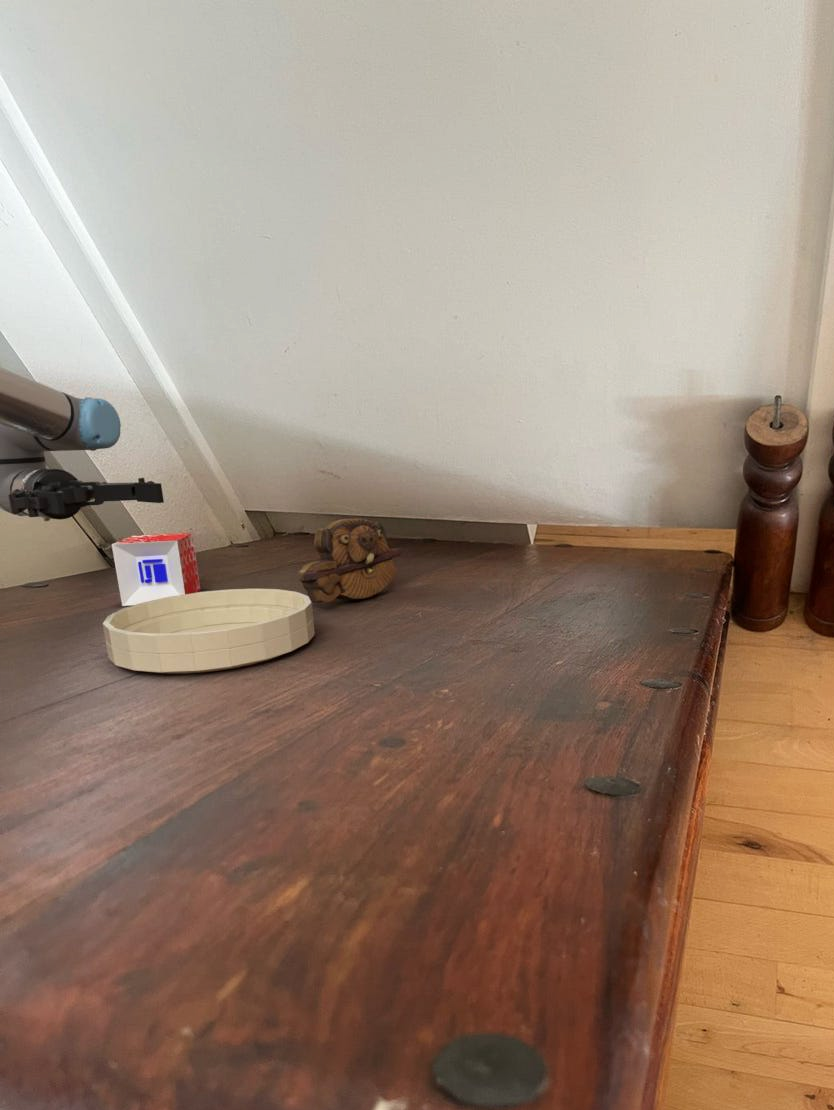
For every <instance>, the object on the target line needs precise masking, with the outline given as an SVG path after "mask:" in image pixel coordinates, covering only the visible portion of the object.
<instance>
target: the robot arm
mask: <svg viewBox="0 0 834 1110" xmlns="http://www.w3.org/2000/svg"><path fill="white" fill-rule="evenodd" d="M121 426H122V424H121V419H120V415H119V413H118V412H117V410H116V408H115V407H114V405H113V404H112V403H110V402H109V401H108V400H106V399H103V398H97V397H96V398H95V397H91V396H90V397H84V398H80V397H76V396H73V395H70V394H68V393H66V392H63V391H61V390H58V389H56V388H53V387H51V386H49V385H46V384H44V383H42V382H39V381H37V380H34V379H32V378H30V377H28V376H26V375H24V374H21V373H18V372H16V371H14V370H11V369H10V368H7V367H5V366H2V365H0V510H2V511H4V512H6V513H9V514H12V515H14V516H19V517H28V518H42V520H43V521H44V522H49V521H51V520H66V519H70V518H71V517H74V516H75V515H76V514H78V513H79V512H80V511H81V509H82V508H85V507H87V506H88V507H89V506H100V505H103V504H104V503H105V502H123V501H124V502H125V501H126V502H127V501H136V502H137V503H150V504H151V503H152V504H163V503H165V501H164V500H165V499H164V494H163V487H162V483H158V482H155V481H152V480H148V481H145V477H138V478H137V481H134V482H106V481H102V482H100V481H99V480H98V481H82V480H79V479H78V478H77V477H76V476H75V475H74V474H72V473H70V472H69V471H66V470H65V469H59V468H47V464H46V457H45V452H65V451H68V452H69V451H91V452H94V451H95V452H96V451H97V450H103V449H104V450H105V449H110V448H112V447H113V446H115V445H116V444H117V443H118V441H119V439H120V437H121Z"/></svg>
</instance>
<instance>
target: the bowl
mask: <svg viewBox="0 0 834 1110" xmlns="http://www.w3.org/2000/svg"><path fill="white" fill-rule="evenodd" d="M102 628H103V629H102V630H103V634H104V640H105V647H106V651H107V657H108V659H109V660H110V661H111V662H112V664H114V666H117V667H120V668H123V669H128V670H131V671H135V672H136V671H137V672H146V673H147V672H148V673H156V674H169V675H170V674H171V675H173V674H174V675H175V674H176V675H177V674H178V675H179V674H181V675H182V674H184V675H185V674H198V673H199V674H200V673H210V672H219V671H225V670H232V669H237V668H243V667H248V666H251V665H255V664H259V663H264V662H267V661H270V660H273V659H275V658H278V657H280V656H283V655H285V654H288V653H290V652H293V651H295V650H297V649H299V648H300V647H302V646H304V645H306V644H308V643H309V642H310V641H311V640H312V638H313V637H314V636H315V635H316V634H315V633H316V632H315V631H316V630H315V621H314V612H313V603H312V602H311V600H310V598H309V596H308V595H306V594H303V593H301V592H298V591H293V590H286V589H279V588H236V589H235V588H233V589H231V588H230V589H218V590H207V591H198V592H197V593H190V594H184V595H177V596H171V597H166V598H161V599H156V600H152V601H147V602H143V603H140V604H136V605H130V606H126V607H124V608H121V609H119V610H117V611H114V612H112V613H111V614H108V615H107V616H106V618H105V619H104V620H103V622H102Z"/></svg>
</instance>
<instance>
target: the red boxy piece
mask: <svg viewBox="0 0 834 1110" xmlns="http://www.w3.org/2000/svg"><path fill="white" fill-rule="evenodd" d="M111 549H112V550H111V551H112V555H113V560H114V567H115V573H116V579H117V584H118V585H117V586H118V590H119V597H120V602H121V607H130V606H133V605H136V604H140V603H143V602H147V601H152V600H156V599H161V598H166V597H171V596H177V595H184V594H190V593H197V592H200V591H201V585H200V578H199V572H198V564H197V557H196V556H197V555H196V550H195V549H196V548H195V542H194V536H193V532H175V533H159V534H158V533H157V534H155V533H154V534H139V535H130V536H127V537H125V538H123V539H121V540H118V541H116V542H114V543H111Z"/></svg>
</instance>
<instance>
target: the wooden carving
mask: <svg viewBox="0 0 834 1110" xmlns="http://www.w3.org/2000/svg"><path fill="white" fill-rule="evenodd" d="M313 545H314V549H315V551H316V552H317V553H318V555H319V558H320V561H319V560H317V561H310V562H308V563H306V564H304V565H303V566H302V567H301V569H300V570H298V572H297V578H298V581H299V582H301V584H302V587H303V588H304V590H305V591H306V593H307V596H309V598H310V600H311V602H312V604H319V603H330V602H332V601H334V600H335V599H337V600H341V601H342V600H343V601H350V600H363V599H367V598H370V597H373V596H375V595H377V594H378V593H380V592H382V591H384V590H385V589H386V588H387V587H388V586H389V585H390V584H391V582H392V581H393V580H394V579H395V577H396V576H397V574H398V568H396V567H395V566H394V562H393V560H392V559H395V558H398V557H399V556H401V555H402V554H403V549H402V548H400V547H397V548H389V545H388V542H387V532H386V529H385V527H384V526H383V524H382V522H380V521H376V522H374V521H372V520H368V519H365V518H342V519H339V520H334V521H333V522H330V523H329V524H327V526H325V528H317V529H316V530H315V534H314V542H313Z"/></svg>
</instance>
